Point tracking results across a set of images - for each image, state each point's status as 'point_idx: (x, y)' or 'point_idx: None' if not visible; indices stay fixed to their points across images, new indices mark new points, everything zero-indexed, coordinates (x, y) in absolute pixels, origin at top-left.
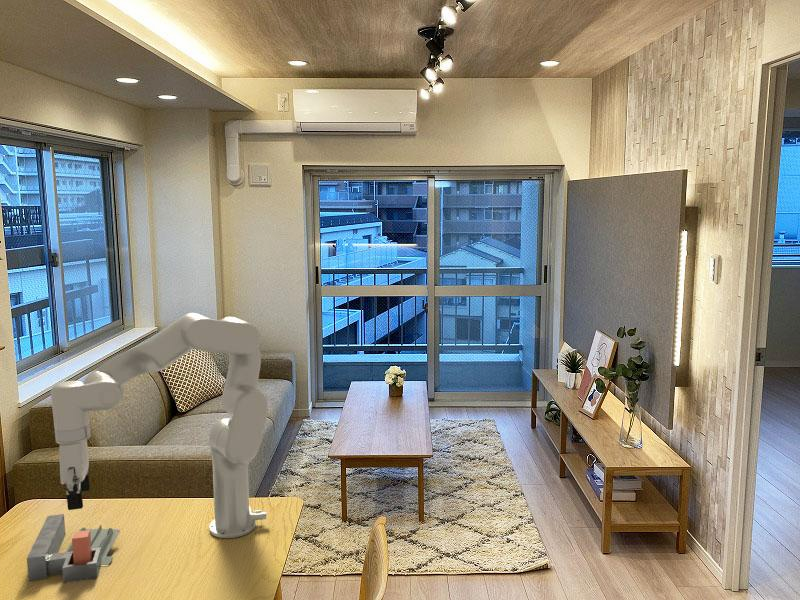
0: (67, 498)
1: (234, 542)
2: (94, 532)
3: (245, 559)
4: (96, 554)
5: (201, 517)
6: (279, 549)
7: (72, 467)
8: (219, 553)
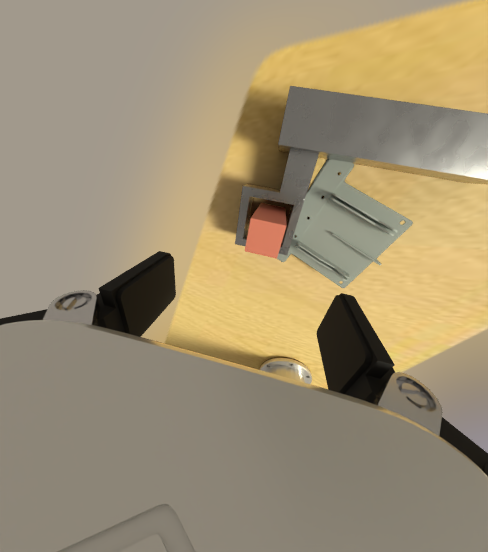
0: (122, 277)
1: (252, 364)
2: (372, 248)
3: None
4: None
5: None
6: None
7: None
8: (237, 350)
